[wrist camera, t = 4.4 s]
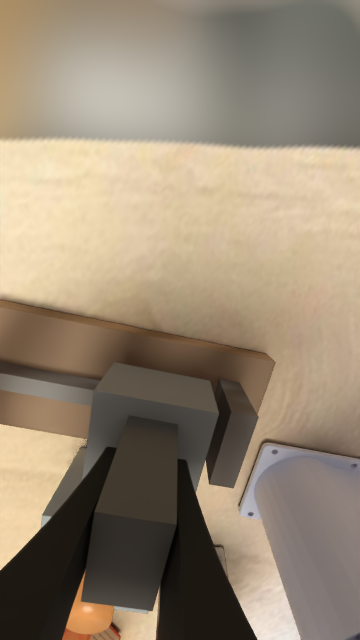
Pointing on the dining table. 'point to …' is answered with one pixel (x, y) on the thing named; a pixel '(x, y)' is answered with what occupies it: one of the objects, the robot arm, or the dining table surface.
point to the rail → (126, 348)
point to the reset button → (88, 615)
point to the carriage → (141, 476)
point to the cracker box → (92, 635)
